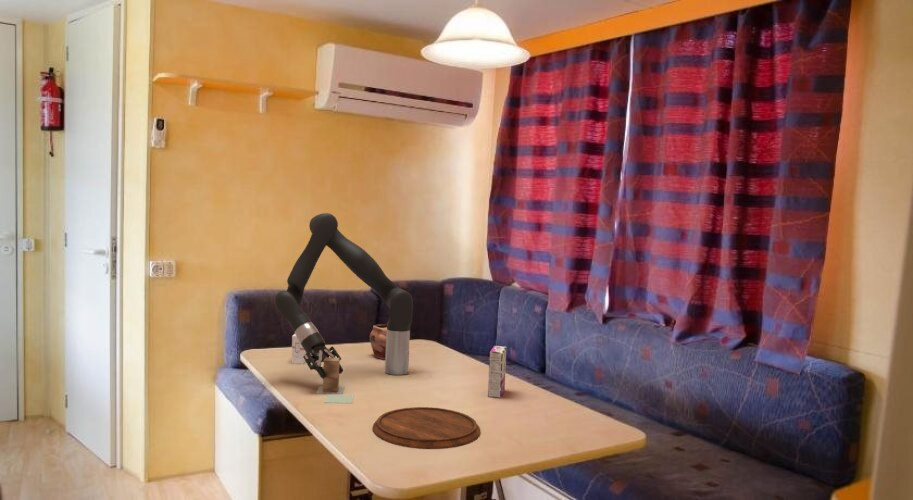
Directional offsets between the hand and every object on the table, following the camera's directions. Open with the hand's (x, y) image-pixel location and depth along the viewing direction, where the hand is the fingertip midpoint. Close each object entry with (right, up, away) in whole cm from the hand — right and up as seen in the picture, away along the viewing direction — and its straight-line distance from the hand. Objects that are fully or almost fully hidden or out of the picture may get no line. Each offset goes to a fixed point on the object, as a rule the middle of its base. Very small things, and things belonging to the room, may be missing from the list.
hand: (333, 374), depth 227 cm
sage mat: (+4, -7, -9) cm, 12 cm away
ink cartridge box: (-22, -3, +42) cm, 47 cm away
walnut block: (-1, -5, +1) cm, 6 cm away
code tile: (-1, -6, +1) cm, 6 cm away
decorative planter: (+11, -3, +59) cm, 60 cm away
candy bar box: (+57, -9, +8) cm, 59 cm away
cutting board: (+34, -10, -34) cm, 49 cm away
